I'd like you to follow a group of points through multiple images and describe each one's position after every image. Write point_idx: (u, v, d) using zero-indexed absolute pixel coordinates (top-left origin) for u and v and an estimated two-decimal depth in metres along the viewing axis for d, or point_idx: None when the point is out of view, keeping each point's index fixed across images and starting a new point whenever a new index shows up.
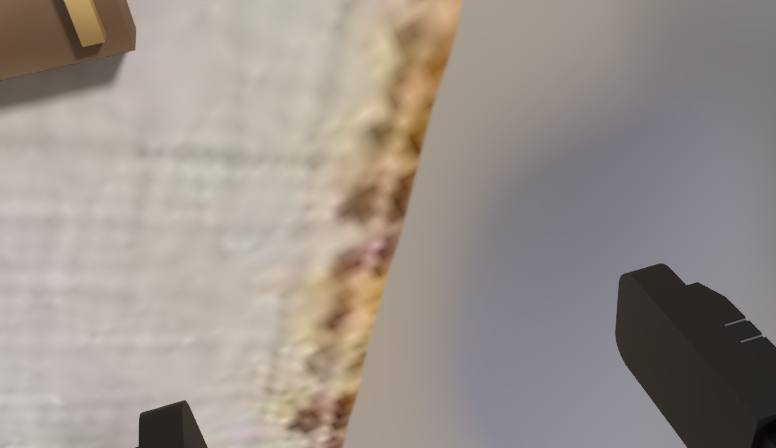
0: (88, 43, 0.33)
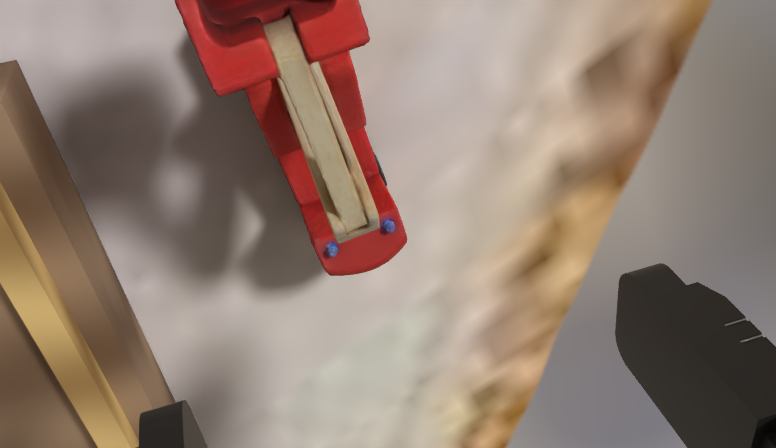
0: None
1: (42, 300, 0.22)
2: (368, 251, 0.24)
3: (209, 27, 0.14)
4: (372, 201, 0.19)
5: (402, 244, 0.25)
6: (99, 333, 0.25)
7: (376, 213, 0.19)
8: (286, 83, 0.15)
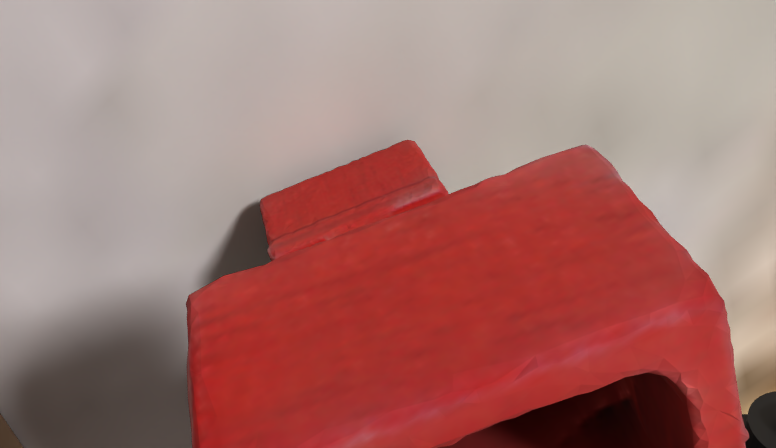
0: None
1: None
2: None
3: None
4: None
5: None
6: None
7: None
8: None
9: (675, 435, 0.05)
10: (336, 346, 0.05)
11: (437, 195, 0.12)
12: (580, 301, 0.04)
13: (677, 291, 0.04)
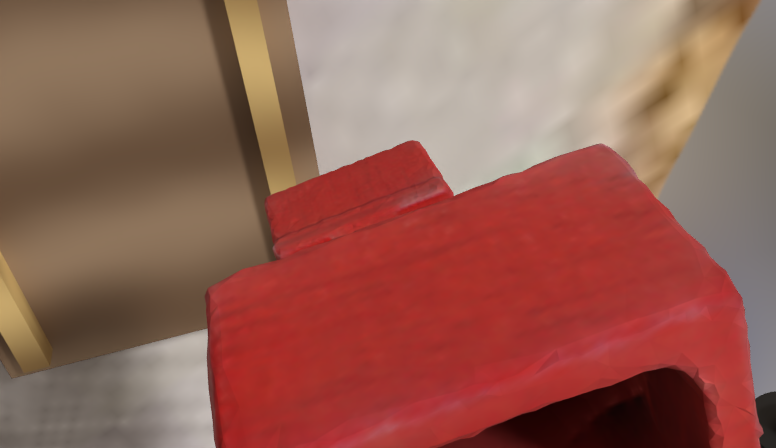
0: None
1: (261, 50, 0.24)
2: None
3: None
4: None
5: None
6: (292, 104, 0.27)
7: None
8: None
9: (689, 430, 0.05)
10: (357, 339, 0.05)
11: (442, 195, 0.12)
12: (599, 296, 0.04)
13: (696, 287, 0.04)
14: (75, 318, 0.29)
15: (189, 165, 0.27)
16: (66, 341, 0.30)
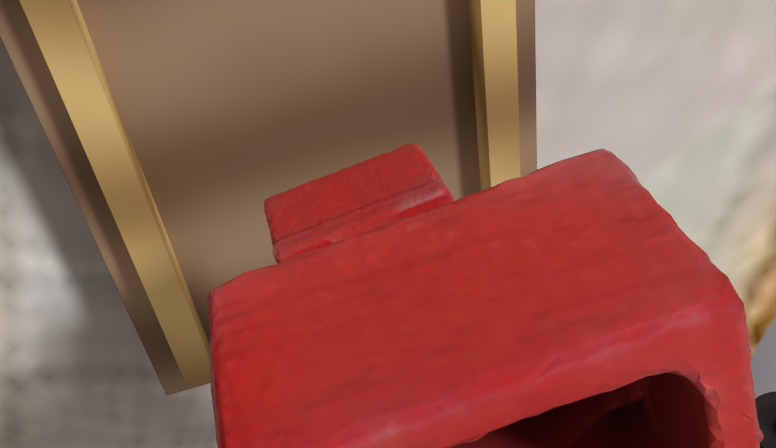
0: None
1: None
2: None
3: None
4: None
5: None
6: (520, 58, 0.22)
7: None
8: None
9: (690, 435, 0.05)
10: (360, 342, 0.05)
11: (442, 198, 0.12)
12: (602, 301, 0.04)
13: (699, 292, 0.04)
14: None
15: (394, 136, 0.22)
16: None
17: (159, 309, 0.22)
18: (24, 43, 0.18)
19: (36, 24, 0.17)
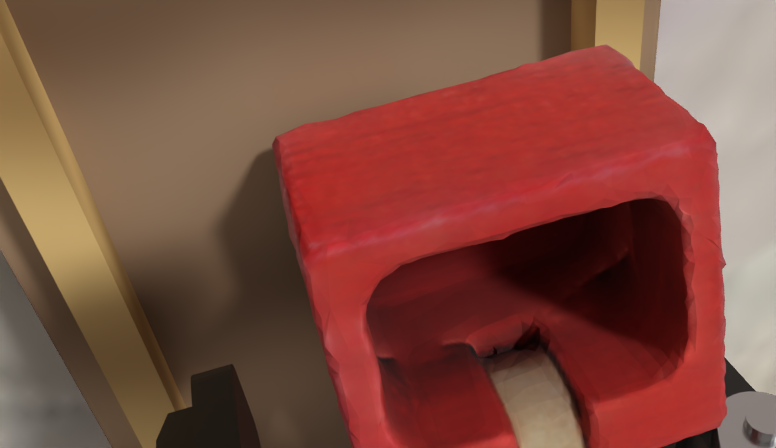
0: None
1: None
2: None
3: (385, 396, 0.06)
4: None
5: None
6: None
7: None
8: None
9: (667, 267, 0.06)
10: (408, 167, 0.06)
11: None
12: (605, 140, 0.06)
13: (682, 133, 0.05)
14: None
15: None
16: None
17: None
18: None
19: None
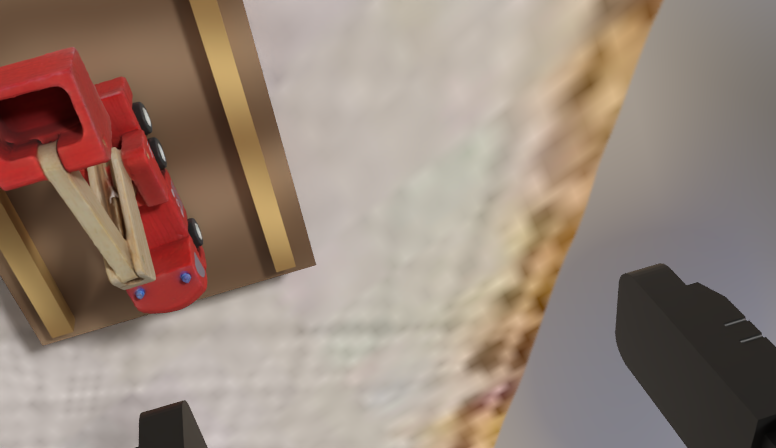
0: (281, 269, 0.36)
1: (229, 60, 0.30)
2: (171, 296, 0.32)
3: None
4: (140, 261, 0.26)
5: (200, 292, 0.32)
6: (260, 104, 0.33)
7: (142, 270, 0.26)
8: (53, 184, 0.22)
9: None
10: None
11: (119, 95, 0.28)
12: (45, 71, 0.21)
13: (62, 69, 0.21)
14: (92, 291, 0.35)
15: (178, 158, 0.33)
16: (86, 312, 0.36)
17: (22, 280, 0.33)
18: None
19: None
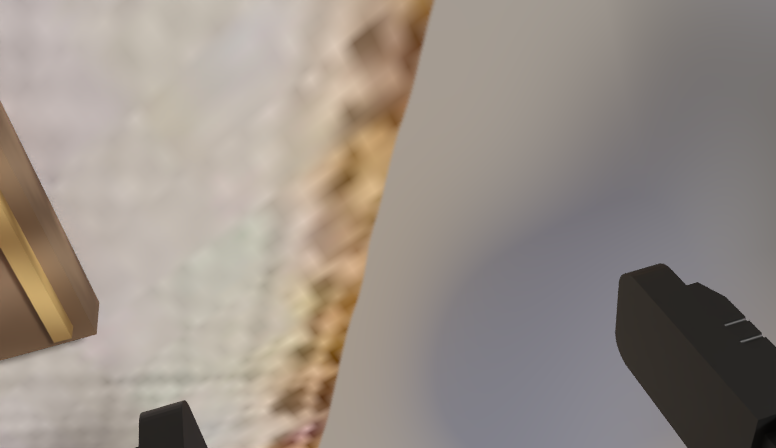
0: (58, 340, 0.42)
1: None
2: None
3: None
4: None
5: None
6: (22, 209, 0.38)
7: None
8: None
9: None
10: None
11: None
12: None
13: None
14: None
15: None
16: None
17: None
18: None
19: None
